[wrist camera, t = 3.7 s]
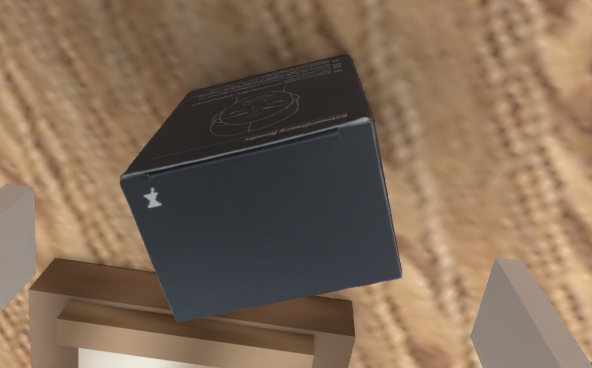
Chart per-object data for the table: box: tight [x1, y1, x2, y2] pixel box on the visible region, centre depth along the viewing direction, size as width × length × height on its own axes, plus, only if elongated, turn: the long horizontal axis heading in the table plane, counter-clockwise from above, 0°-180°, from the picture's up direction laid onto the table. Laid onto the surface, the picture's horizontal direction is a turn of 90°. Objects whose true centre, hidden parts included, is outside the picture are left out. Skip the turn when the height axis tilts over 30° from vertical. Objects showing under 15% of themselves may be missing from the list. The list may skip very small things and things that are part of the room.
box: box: [120, 55, 402, 322], centre depth 22 cm, size 8×6×11 cm
